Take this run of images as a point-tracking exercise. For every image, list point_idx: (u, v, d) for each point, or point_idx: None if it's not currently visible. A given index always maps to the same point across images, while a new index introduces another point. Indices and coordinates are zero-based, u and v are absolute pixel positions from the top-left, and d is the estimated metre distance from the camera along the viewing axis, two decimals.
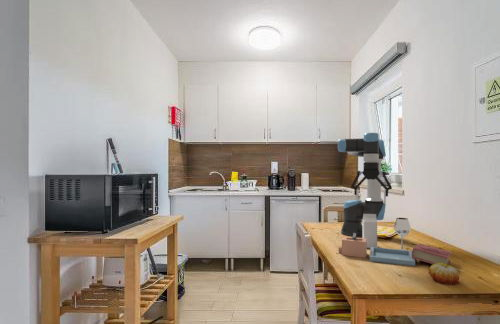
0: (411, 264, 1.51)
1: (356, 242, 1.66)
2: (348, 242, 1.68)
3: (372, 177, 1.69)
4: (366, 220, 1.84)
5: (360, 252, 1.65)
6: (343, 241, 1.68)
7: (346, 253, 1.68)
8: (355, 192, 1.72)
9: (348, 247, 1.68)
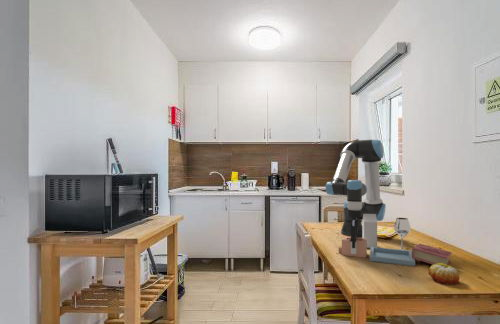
0: (411, 264, 1.51)
1: (356, 242, 1.66)
2: (348, 242, 1.68)
3: None
4: (366, 220, 1.84)
5: (360, 252, 1.65)
6: (343, 241, 1.68)
7: (346, 253, 1.68)
8: None
9: (348, 247, 1.68)
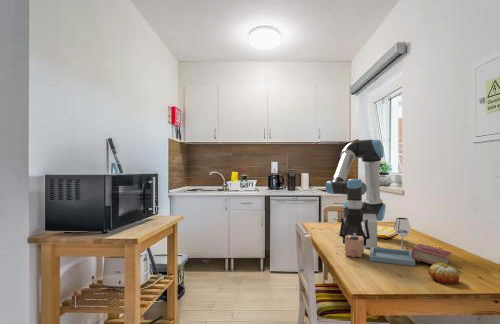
0: (411, 264, 1.51)
1: None
2: None
3: (355, 223, 1.69)
4: None
5: None
6: (361, 242, 1.64)
7: None
8: (343, 241, 1.72)
9: None
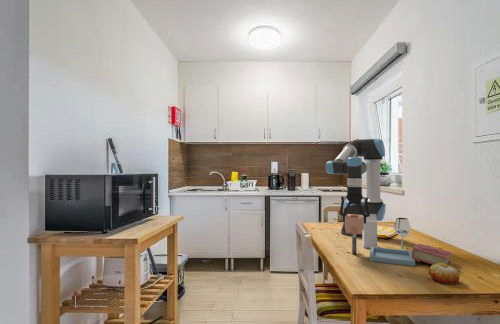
0: (411, 264, 1.51)
1: None
2: None
3: (355, 201, 1.69)
4: (366, 220, 1.84)
5: None
6: (361, 219, 1.64)
7: None
8: (343, 219, 1.72)
9: None
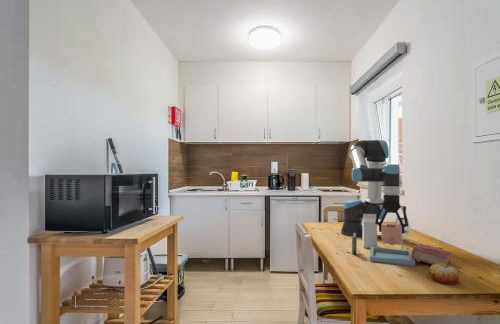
0: (411, 264, 1.51)
1: (399, 227, 1.63)
2: None
3: (393, 210, 1.62)
4: (366, 220, 1.84)
5: None
6: (400, 229, 1.57)
7: None
8: (380, 229, 1.65)
9: None
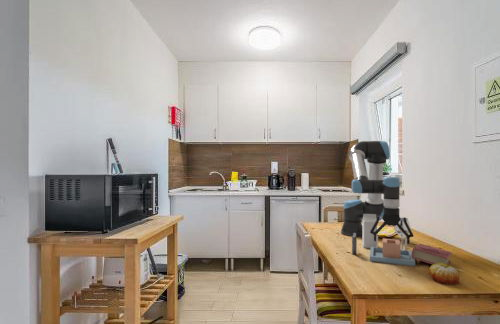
0: (411, 264, 1.51)
1: (399, 243, 1.63)
2: None
3: (393, 223, 1.62)
4: (366, 220, 1.84)
5: None
6: (400, 246, 1.57)
7: None
8: (375, 238, 1.66)
9: None
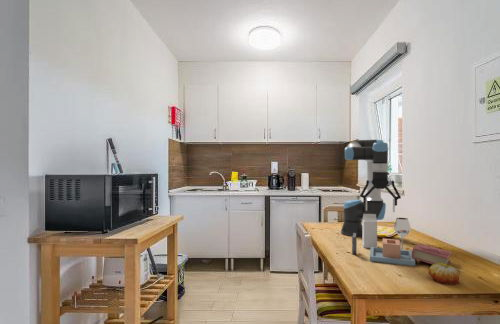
0: (411, 264, 1.51)
1: (399, 243, 1.63)
2: None
3: (381, 186, 1.70)
4: (366, 220, 1.84)
5: None
6: (400, 246, 1.57)
7: None
8: (364, 201, 1.74)
9: None
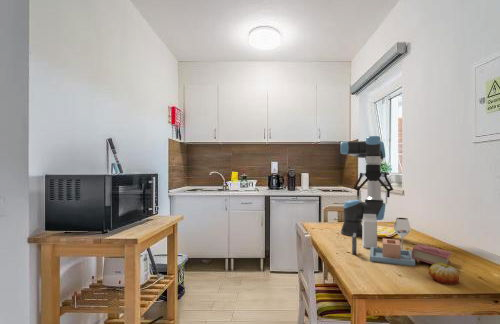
0: (411, 264, 1.51)
1: (399, 243, 1.63)
2: None
3: (374, 179, 1.75)
4: (366, 220, 1.84)
5: None
6: (400, 246, 1.57)
7: None
8: (358, 193, 1.78)
9: None
